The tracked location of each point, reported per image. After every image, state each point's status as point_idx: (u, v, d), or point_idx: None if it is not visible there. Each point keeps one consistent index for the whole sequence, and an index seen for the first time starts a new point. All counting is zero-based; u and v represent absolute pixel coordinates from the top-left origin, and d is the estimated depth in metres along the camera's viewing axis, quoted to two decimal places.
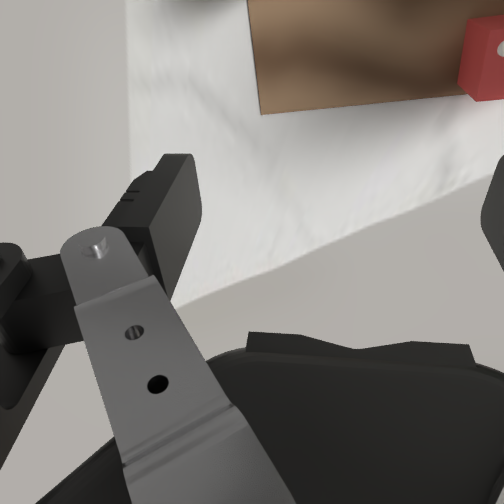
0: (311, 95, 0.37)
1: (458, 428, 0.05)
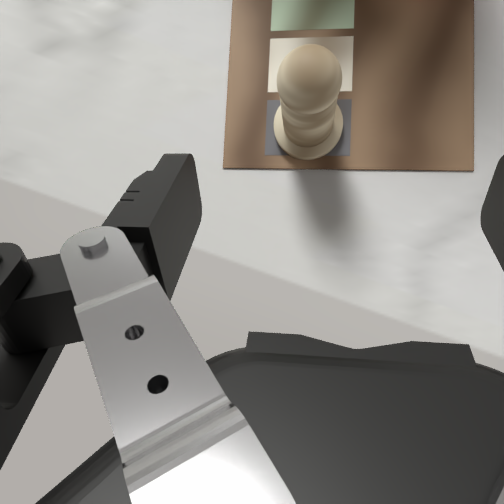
0: (456, 110, 0.32)
1: (458, 428, 0.05)
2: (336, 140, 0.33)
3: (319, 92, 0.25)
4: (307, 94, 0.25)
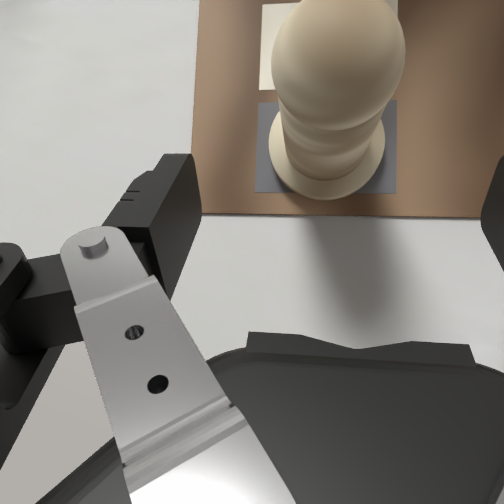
0: None
1: (458, 428, 0.05)
2: (374, 169, 0.19)
3: (362, 85, 0.12)
4: (336, 90, 0.12)
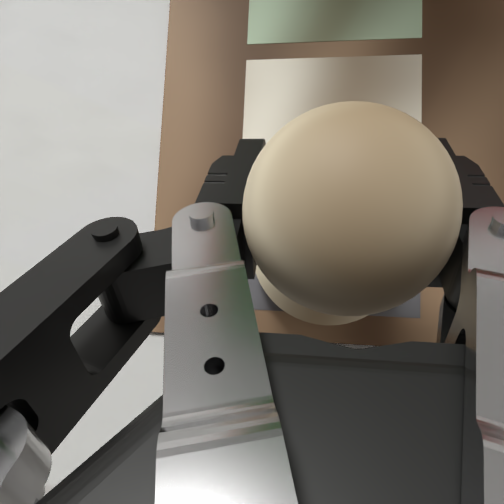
0: None
1: (458, 428, 0.05)
2: None
3: (393, 284, 0.07)
4: (348, 290, 0.07)
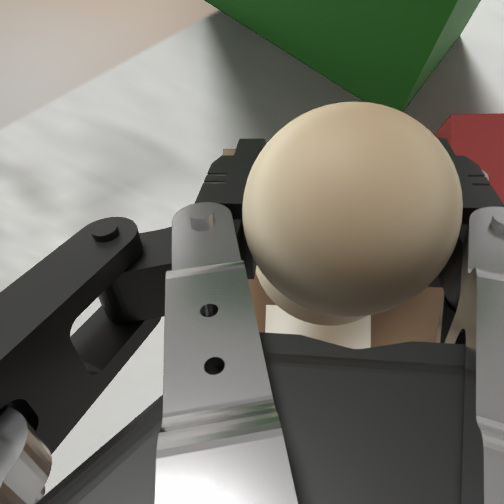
0: None
1: (458, 428, 0.05)
2: None
3: (393, 285, 0.07)
4: (348, 291, 0.07)
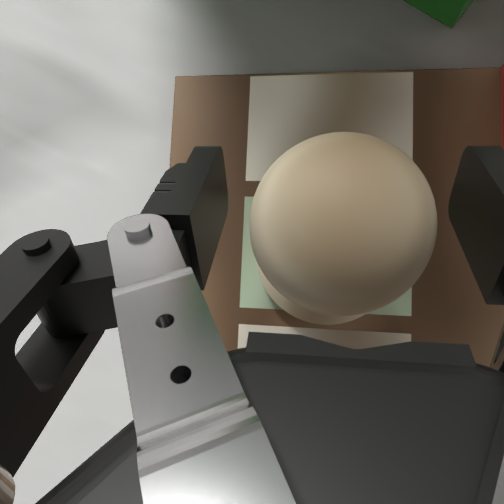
0: None
1: (458, 428, 0.05)
2: None
3: (376, 289, 0.08)
4: (339, 294, 0.08)
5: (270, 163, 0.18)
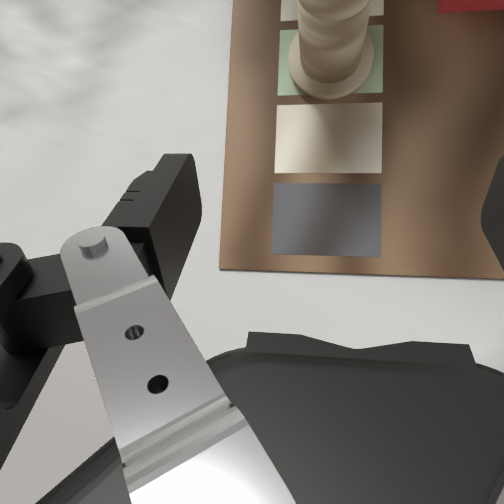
0: None
1: (458, 428, 0.05)
2: (365, 73, 0.26)
3: None
4: None
5: (296, 9, 0.28)
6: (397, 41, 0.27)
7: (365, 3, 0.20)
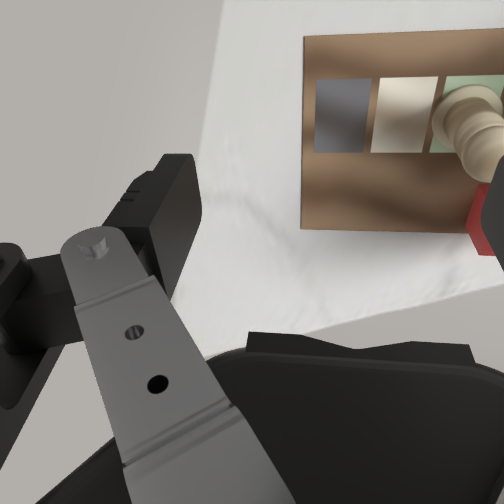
0: (345, 220, 0.45)
1: (458, 428, 0.05)
2: (444, 144, 0.38)
3: (474, 170, 0.30)
4: (475, 161, 0.30)
5: None
6: None
7: None
